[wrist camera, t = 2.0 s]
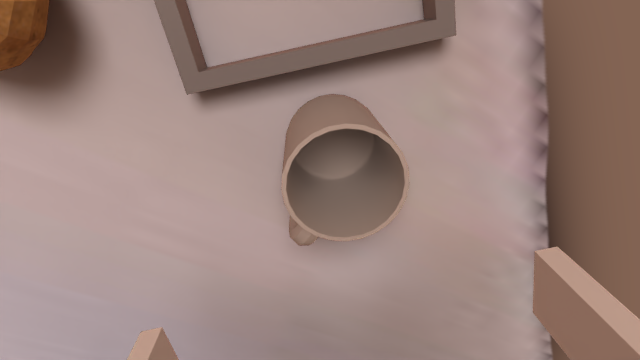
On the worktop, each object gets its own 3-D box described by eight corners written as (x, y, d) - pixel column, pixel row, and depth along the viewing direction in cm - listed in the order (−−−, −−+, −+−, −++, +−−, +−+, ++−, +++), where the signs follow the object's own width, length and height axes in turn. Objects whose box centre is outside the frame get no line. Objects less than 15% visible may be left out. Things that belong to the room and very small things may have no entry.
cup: (395, 119, 29) (434, 160, 21) (332, 221, 32) (345, 290, 24) (312, 74, 27) (319, 99, 19) (255, 186, 30) (240, 249, 22)
